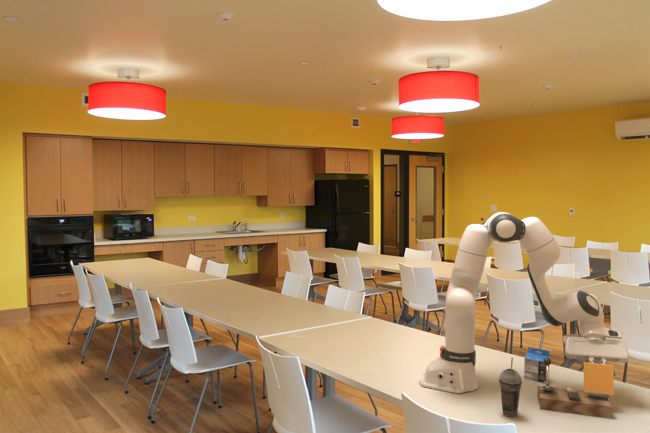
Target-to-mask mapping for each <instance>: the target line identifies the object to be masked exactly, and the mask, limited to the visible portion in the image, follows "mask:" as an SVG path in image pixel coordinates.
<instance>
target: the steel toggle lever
mask: <svg viewBox="0 0 650 433" xmlns="http://www.w3.org/2000/svg"><path fill="white" fill-rule="evenodd" d="M544 364H545V365H546V383H545V384H546V385H542V386H543V391H546V392H553V386H550V365H551V364H552V359H551V358H550V359H549V358H545V359H544Z"/></svg>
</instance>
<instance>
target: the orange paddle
mask: <svg viewBox="0 0 650 433" xmlns="http://www.w3.org/2000/svg"><path fill="white" fill-rule="evenodd" d="M614 373H615V372H614V365H613V364H607V363H605V364H602V363H595V362H594V363H589V362H588V361H587V362H586V361H584V362H583V391H584V392H588V395H589V397H598V398H607V399H609V398H610V396H615V394H614V393H615V391H614V388H615V385H614V384H615V379H614V378H615V377H614V376H615V374H614ZM609 400H610V399H609Z"/></svg>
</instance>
